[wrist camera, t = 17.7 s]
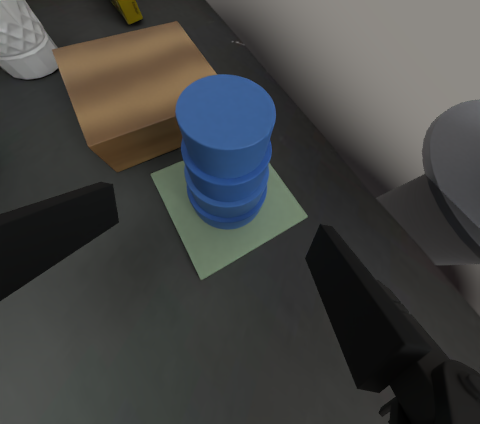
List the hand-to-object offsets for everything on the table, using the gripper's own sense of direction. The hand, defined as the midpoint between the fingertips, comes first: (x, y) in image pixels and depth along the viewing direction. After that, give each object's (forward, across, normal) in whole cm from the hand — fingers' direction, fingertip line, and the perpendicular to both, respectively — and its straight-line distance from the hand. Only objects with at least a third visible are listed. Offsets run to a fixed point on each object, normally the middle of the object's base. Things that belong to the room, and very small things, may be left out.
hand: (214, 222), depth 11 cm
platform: (+14, -11, +6) cm, 19 cm away
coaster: (+7, 0, -1) cm, 7 cm away
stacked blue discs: (+7, 0, -1) cm, 7 cm away
